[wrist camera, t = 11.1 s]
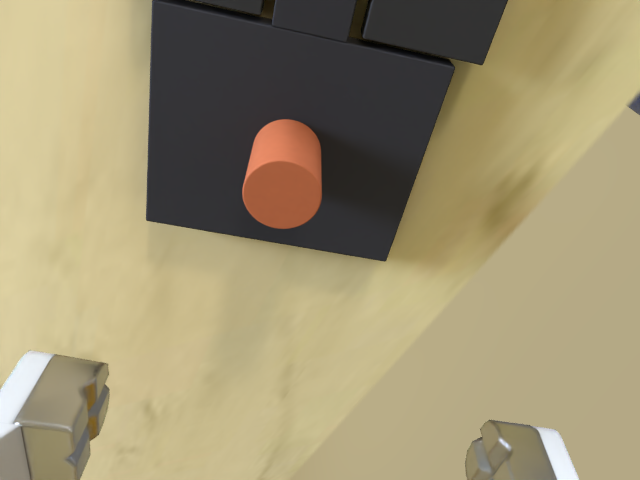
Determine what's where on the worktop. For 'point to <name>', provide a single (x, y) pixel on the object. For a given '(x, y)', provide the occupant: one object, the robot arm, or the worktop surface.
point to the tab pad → (286, 82)
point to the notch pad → (421, 24)
